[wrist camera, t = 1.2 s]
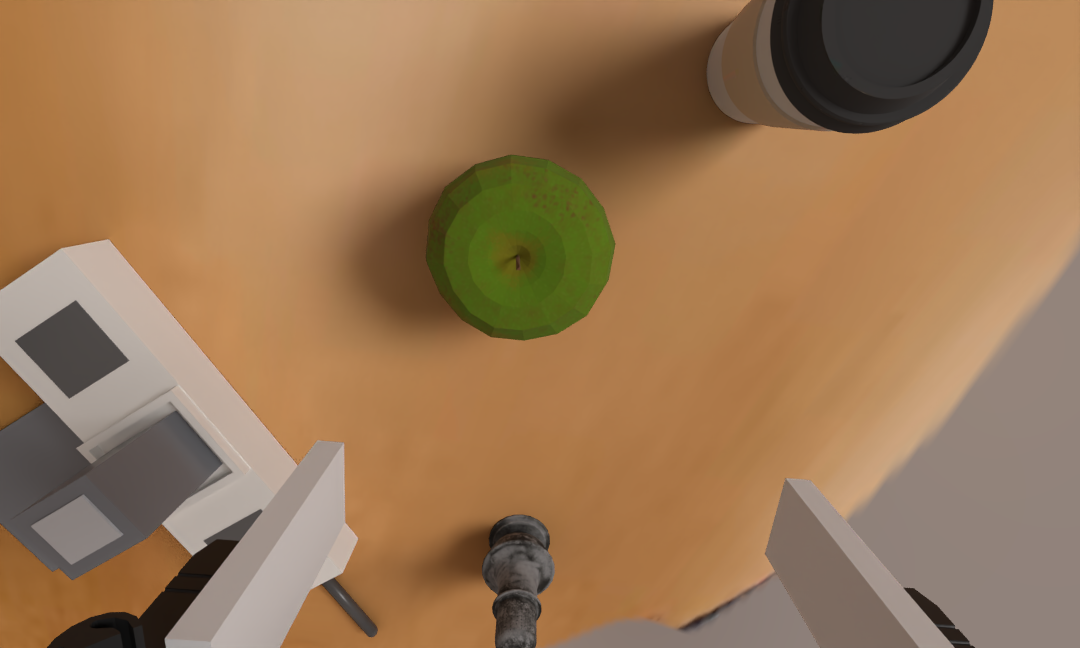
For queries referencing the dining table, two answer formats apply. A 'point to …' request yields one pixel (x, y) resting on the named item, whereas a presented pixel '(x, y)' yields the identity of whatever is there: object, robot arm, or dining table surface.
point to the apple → (519, 247)
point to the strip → (146, 391)
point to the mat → (35, 465)
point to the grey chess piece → (517, 578)
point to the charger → (119, 497)
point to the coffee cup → (843, 60)
